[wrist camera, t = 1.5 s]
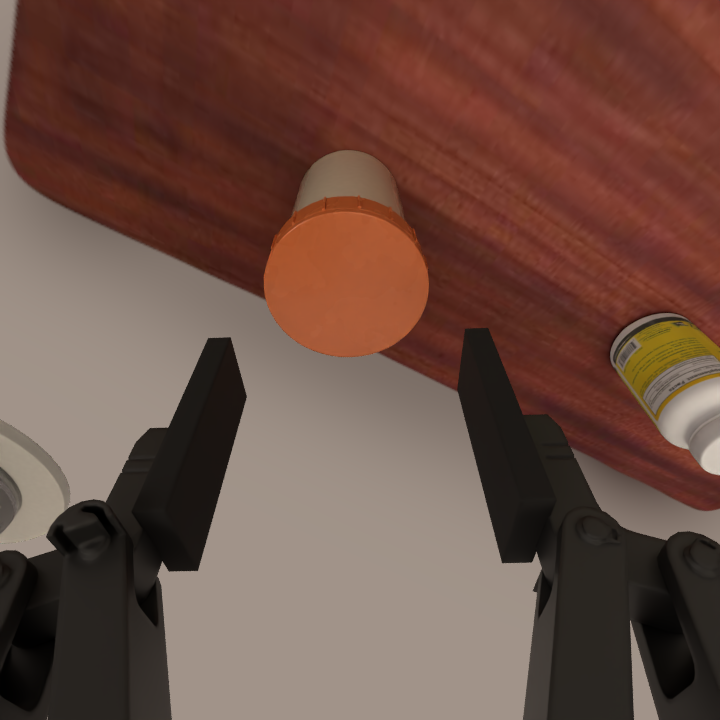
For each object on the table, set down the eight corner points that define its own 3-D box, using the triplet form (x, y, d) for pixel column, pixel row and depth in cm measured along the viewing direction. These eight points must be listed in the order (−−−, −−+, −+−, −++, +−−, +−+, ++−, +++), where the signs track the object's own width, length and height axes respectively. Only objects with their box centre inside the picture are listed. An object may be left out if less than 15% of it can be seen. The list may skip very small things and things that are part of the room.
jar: (304, 253, 30) (285, 347, 22) (291, 152, 26) (262, 220, 18) (398, 249, 30) (415, 342, 22) (400, 147, 26) (421, 213, 18)
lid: (282, 338, 23) (277, 360, 22) (256, 198, 19) (248, 215, 17) (420, 332, 23) (425, 354, 22) (428, 190, 19) (434, 207, 17)
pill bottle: (690, 357, 36) (796, 468, 28) (610, 381, 38) (686, 493, 29) (692, 297, 33) (812, 402, 24) (603, 326, 34) (687, 434, 26)
